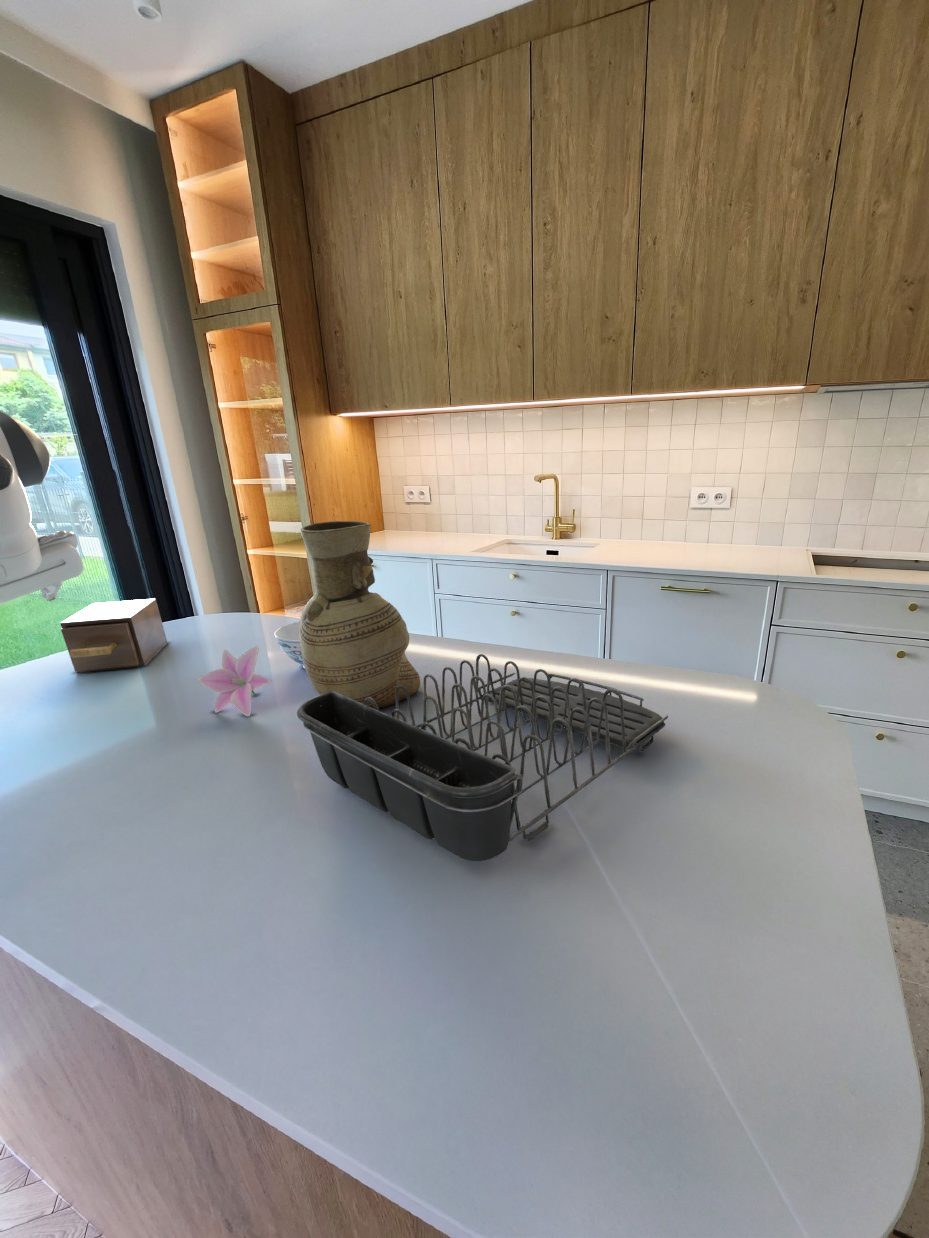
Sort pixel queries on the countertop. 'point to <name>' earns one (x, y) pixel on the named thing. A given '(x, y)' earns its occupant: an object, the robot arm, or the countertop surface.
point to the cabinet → (140, 622)
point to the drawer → (100, 646)
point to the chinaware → (290, 641)
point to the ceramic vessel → (352, 621)
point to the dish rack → (468, 753)
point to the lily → (235, 681)
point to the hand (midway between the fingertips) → (20, 608)
